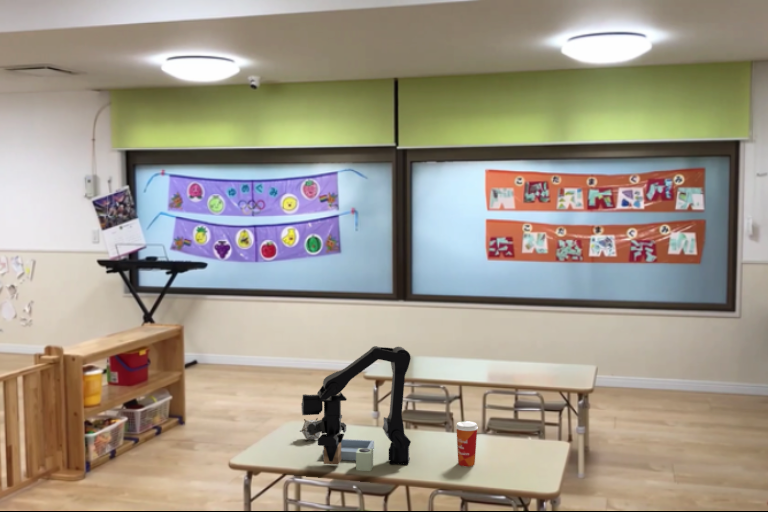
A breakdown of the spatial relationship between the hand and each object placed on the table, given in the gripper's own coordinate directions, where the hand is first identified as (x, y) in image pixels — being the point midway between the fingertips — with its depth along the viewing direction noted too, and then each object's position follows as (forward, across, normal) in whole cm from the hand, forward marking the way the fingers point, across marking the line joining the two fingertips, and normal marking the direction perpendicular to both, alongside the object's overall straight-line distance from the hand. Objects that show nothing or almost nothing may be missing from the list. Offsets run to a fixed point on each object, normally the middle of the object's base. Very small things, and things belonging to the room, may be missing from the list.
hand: (332, 458), depth 258 cm
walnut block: (+1, 0, 0) cm, 1 cm away
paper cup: (+3, -9, +45) cm, 46 cm away
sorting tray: (+3, -14, +3) cm, 15 cm away
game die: (+3, -28, -14) cm, 31 cm away
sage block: (+3, 0, +11) cm, 11 cm away
